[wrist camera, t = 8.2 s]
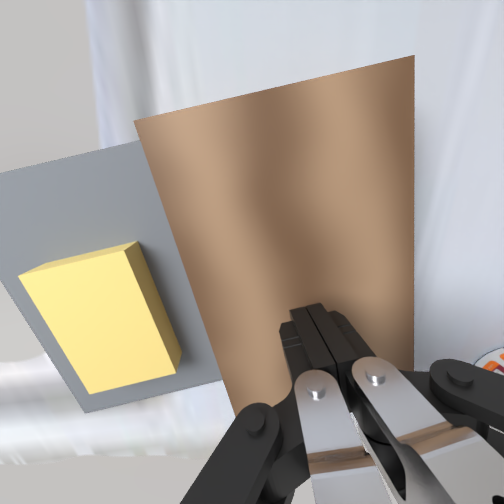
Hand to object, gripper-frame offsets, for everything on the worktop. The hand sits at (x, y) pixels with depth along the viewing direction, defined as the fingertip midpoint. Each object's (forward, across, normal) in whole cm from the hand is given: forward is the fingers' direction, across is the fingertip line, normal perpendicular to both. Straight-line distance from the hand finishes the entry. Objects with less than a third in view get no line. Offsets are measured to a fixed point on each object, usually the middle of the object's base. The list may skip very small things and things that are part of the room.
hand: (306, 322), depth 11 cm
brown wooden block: (+6, -1, -1) cm, 6 cm away
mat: (+6, +12, -1) cm, 13 cm away
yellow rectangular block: (+4, +12, 0) cm, 12 cm away
